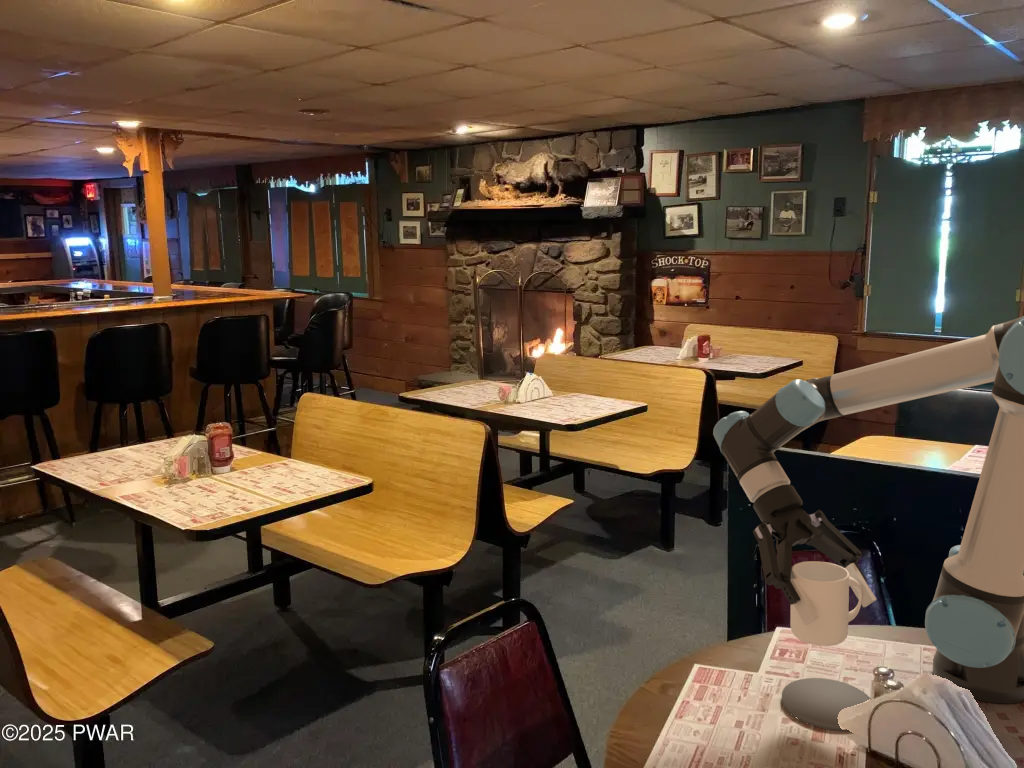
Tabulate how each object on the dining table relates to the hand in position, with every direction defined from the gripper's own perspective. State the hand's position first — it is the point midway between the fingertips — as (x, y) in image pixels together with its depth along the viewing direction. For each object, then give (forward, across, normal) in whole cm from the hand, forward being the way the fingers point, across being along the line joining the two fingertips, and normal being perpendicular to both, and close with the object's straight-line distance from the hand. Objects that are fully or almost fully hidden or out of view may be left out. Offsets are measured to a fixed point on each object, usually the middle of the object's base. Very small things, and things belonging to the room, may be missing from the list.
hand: (841, 612), depth 127 cm
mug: (+1, 0, -5) cm, 5 cm away
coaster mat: (+10, 0, -14) cm, 17 cm away
